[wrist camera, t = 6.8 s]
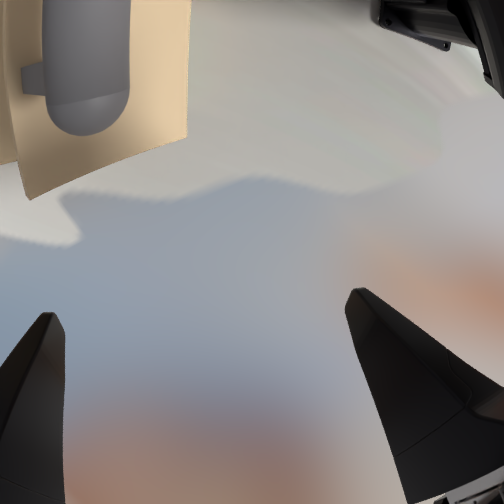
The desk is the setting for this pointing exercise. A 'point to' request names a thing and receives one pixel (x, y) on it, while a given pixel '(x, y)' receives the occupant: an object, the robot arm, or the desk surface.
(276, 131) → the desk surface
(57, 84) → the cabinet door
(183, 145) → the desk surface
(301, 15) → the desk surface
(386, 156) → the desk surface
